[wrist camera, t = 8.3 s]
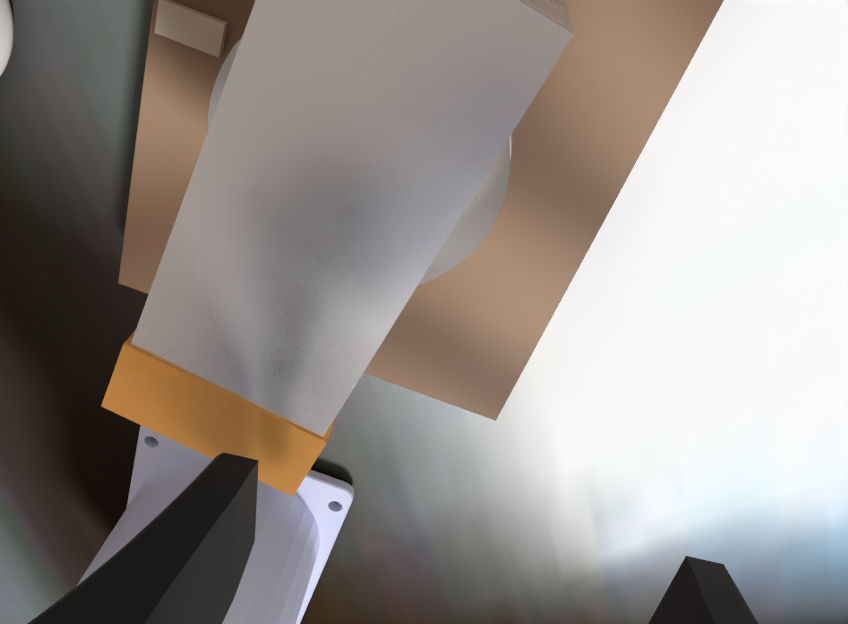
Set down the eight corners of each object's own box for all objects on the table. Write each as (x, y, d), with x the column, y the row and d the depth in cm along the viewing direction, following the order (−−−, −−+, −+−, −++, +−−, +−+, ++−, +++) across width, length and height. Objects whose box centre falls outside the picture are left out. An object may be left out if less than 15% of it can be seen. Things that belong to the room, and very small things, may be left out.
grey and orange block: (617, 13, 13) (657, 85, 9) (392, 361, 18) (345, 521, 14) (324, -170, 12) (203, -193, 8) (171, 247, 17) (41, 378, 13)
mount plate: (498, 390, 23) (491, 479, 20) (141, 259, 22) (71, 328, 19) (795, -174, 15) (872, -187, 11) (239, -415, 14) (143, -506, 11)
